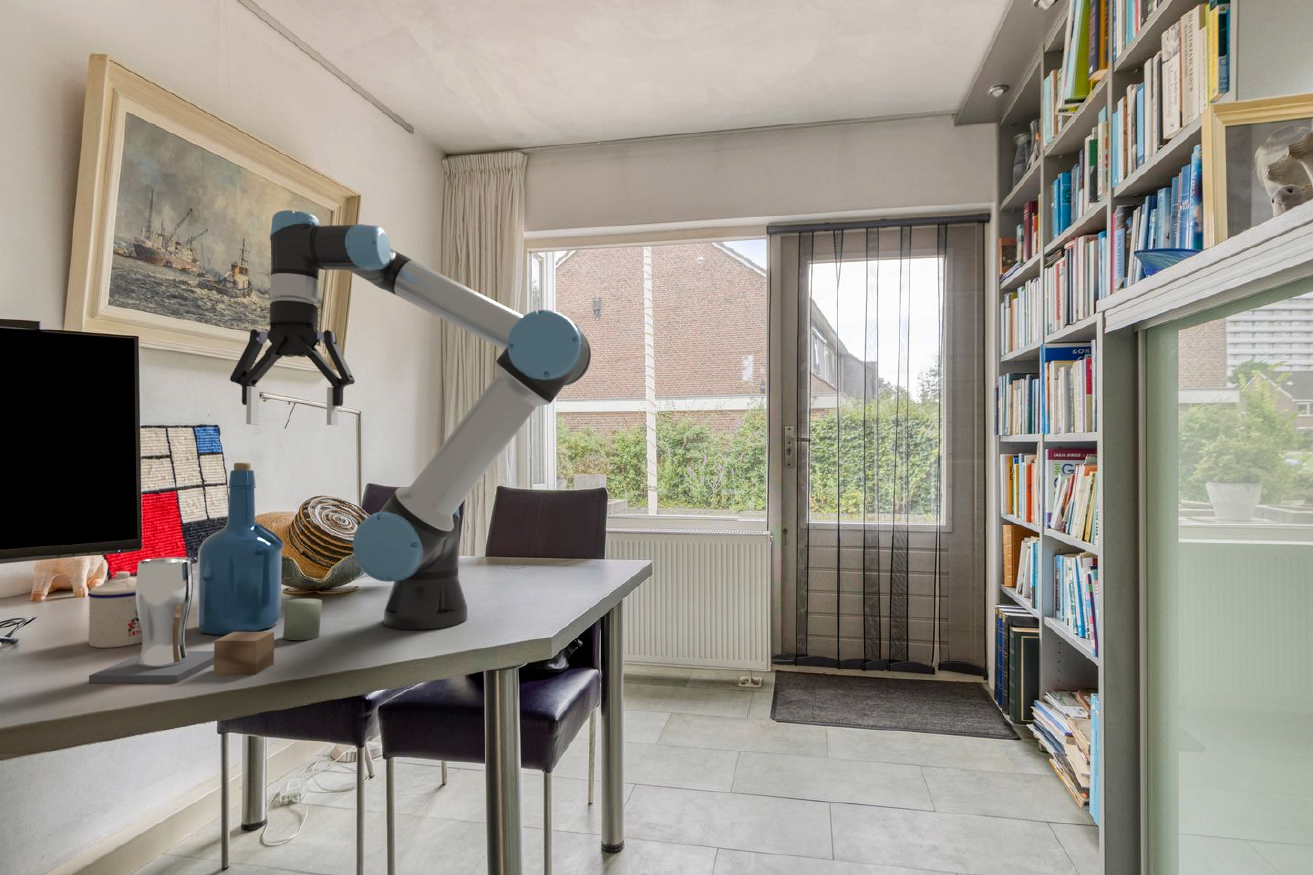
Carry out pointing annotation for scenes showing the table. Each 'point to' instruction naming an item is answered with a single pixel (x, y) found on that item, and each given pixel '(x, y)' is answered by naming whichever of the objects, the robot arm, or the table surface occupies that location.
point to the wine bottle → (239, 567)
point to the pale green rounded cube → (302, 619)
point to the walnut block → (243, 653)
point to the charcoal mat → (153, 670)
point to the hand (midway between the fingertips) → (292, 425)
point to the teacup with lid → (114, 613)
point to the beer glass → (163, 610)
